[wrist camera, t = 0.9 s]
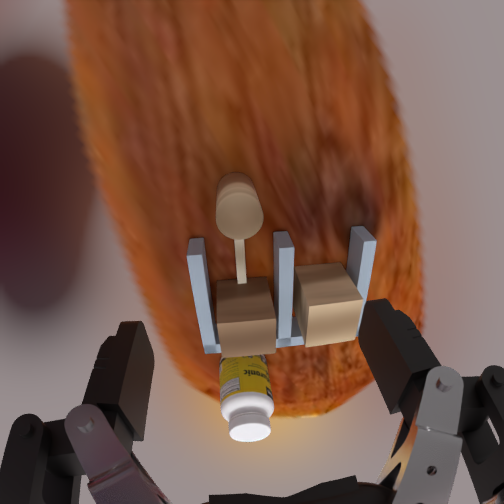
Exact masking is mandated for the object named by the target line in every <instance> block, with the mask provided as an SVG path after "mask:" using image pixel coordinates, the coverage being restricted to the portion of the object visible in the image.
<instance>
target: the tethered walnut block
mask: <svg viewBox="0 0 504 504" xmlns="http://www.w3.org/2000/svg"><path fill="white" fill-rule="evenodd" d="M262 223H263V211H262V208H261V205H260V202H259V199H258V196H257V193H256V190H255V187H254V185H253V182H252V180H251V179H250V178H249V177H248V176H247V175H245V174H243V173H240V172H232V173H229V174H227V175H225V176H224V177H223V178H222V179H221V180H220V181H219V183H218V186H217V200H216V224H217V226H218V229H219V230H220V231H221V232H222V233H223V234H224V235H225V236H227V237H229V238H231V239H234V243H235V256H236V268H237V279H231V280H219V281H217V328H218V335H219V341H220V347H221V353H222V358H228V357H241V356H252V355H262V354H272V353H276V315H275V311H274V307H273V303H272V298H271V294H270V290H269V285H268V281H267V277H255V278H246V265H245V249H244V239H247V238H250V237H252V236H253V235H255V234H256V233H257V232H258V231H259V229H260V228H261V226H262Z"/></svg>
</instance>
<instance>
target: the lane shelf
mask: <svg viewBox="0 0 504 504" xmlns="http://www.w3.org/2000/svg"><path fill="white" fill-rule="evenodd" d="M273 239H274V311H275V315H276V348H278V347H287V346H295V345H303V344H304V341H303V338H302V334H301V331H300V328H299V325H298V321H297V318H296V317H292V302H293V275H294V245H293V243H292V241H291V239H290V236H289V234H288V232H287V231H281V232H273ZM376 241H377V240H376V239H375V238H374V237H373V236H372V235H371V234H370V233H369V232H368V231H367V230H366V229H365V228H364V226H355V227H351V235H350V244H349V253H348V261H347V269H346V272H347V273H348V275H349V277H350V278H351V280H352V281H353V283H354V285H355V286H356V288H357V290H358V291H359V293H360V294H361V296H362V298H363V304H362V309H361V314H360V319H359V323H358V328H357V332H356V336H358V332H359V327H360V323H361V319H362V314H363V310H364V305H365V303H366V298H367V293H368V288H369V283H370V278H371V272H372V266H373V260H374V254H375V248H376ZM187 261H188V267H189V273H190V279H191V284H192V290H193V296H194V301H195V306H196V312H197V317H198V322H199V327H200V332H201V337H202V342H203V347H204V351H205V354H208V353H221V347H220V341H219V335H218V328H217V324H216V323H215V317H214V310H213V303H212V296H211V289H210V282H209V275H208V267H207V260H206V252H205V244H204V238H193V239H190V241H189V246H188V251H187ZM356 336H355V337H356Z"/></svg>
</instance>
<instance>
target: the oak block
mask: <svg viewBox="0 0 504 504" xmlns="http://www.w3.org/2000/svg"><path fill="white" fill-rule="evenodd" d="M362 304H363V298H362V296H361V294H360V293H359V291H358V290H357V288H356V286H355V285H354V283H353V281H352V280H351V278H350V277H349V275H348V273H347V272H346V270H345V269H344V267H343V265H342V264H341V262H338V263H327V264H317V265H306V266H295V267H294V281H293V308H294V312H295V315H296V318H297V321H298V325H299V328H300V331H301V334H302V338H303V341H304V344H305V347H311V346H318V345H325V344H332V343H338V342H344V341H350V340H355V336H356V332H357V328H358V323H359V319H360V314H361V309H362Z"/></svg>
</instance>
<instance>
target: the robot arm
mask: <svg viewBox="0 0 504 504" xmlns="http://www.w3.org/2000/svg"><path fill="white" fill-rule="evenodd" d="M358 339H359V345H360V348H361V350H362V352H363V354H364V356H365V358H366V360H367V363H368V365H369V367H370V369H371V371H372V374H373V376H374V378H375V380H376V382H377V384H378V387H379V389H380V391H381V394H382V396H383V398H384V401H385V403H386V405H387V408H388V410H389V412H390V414H394V413H397V412H400V411H401V413H402V415H403V418H402V420H401V423H400V426H399V429H398V432H397V435H396V438H395V440H394V443H393V446H392V449H391V451H390V454H389V457H388V459H387V462H386V464H385V466H384V467H383V469H382V471H381V473H380V475H379V476H378V478H377V480H376V482H375V484H374V483H367V482H357V479H356V476H355V475H354V476H350V477H346V478H342V479H338V480H333V481H329V482H324V483H320V484H318V485H316V486H313V487H311V488H309V489H306V490H304V491H301V492H299V493H296V494H294V495H291V496H288V497H282V498H281V497H271V496H262V495H254V494H247V493H244V494H226V495H209V502H206V503H202V504H448V501H449V497H450V494H451V490H452V487H453V483H454V479H455V475H456V471H457V466H458V463H459V457H460V453H462V455H463V458H464V460H465V463H466V466H467V468H468V471H469V474H470V476H471V479H472V482H473V484H474V488H475V490H476V493H477V496H478V499H479V502H480V504H504V368H502V367H500V366H495V365H493V366H489V367H487V368H485V370H484V371H483V373H482V374H481V376H475V377H461V376H460V374H459V373H458V372H457V371H455V370H454V369H452V368H450V367H446V366H441V364H440V363H439V361H438V360H437V358H436V357H435V355H434V353H433V352H432V350H431V349H430V347H429V346H428V344H427V343H426V341H425V340H424V338H423V337H422V336H421V333H420V332H419V330H418V329H416V326H415V325H414V323H413V322H412V320H411V319H410V317H408V316H407V315H406V314H404V313H403V312H402V311H400V310H394V308H393V307H392V305H391V304H390V302H389V301H388V300H387V299H385V298H384V299H378V300H371V301H367V302H366V303H365V305H364V310H363V314H362V319H361V323H360V327H359V332H358ZM153 370H154V354H153V350H152V347H151V344H150V341H149V339H148V335H147V333H146V330H145V327H144V324H143V323H142V321H125V322H121V323H120V325H119V328H118V331H117V334H116V336H109V337H108V338H107V339H106V340H105V342H104V343H103V344H102V345H101V347H100V349H99V352H98V355H97V360H96V361H95V364H94V369H93V370H92V373H91V376H90V379H89V382H88V385H87V389H86V392H85V395H84V399H83V402H82V404H81V405H79V406H77V407H75V408H73V409H72V410H71V411H70V412H69V413H68V415H67V416H66V418H65V419H61V420H55V421H50V422H44V423H43V422H42V421H41V419H40V418H39V417H38V416H36V415H34V414H24V415H22V416H20V417H18V418H17V419H16V420H15V421H14V423H13V425H12V427H11V430H10V434H9V437H8V441H7V444H6V448H5V452H4V456H3V460H2V464H1V468H0V504H79V494H80V484H81V475H87V477H88V479H89V483H88V484H87V485H88V489H89V491H90V493H91V495H92V497H93V499H94V500H95V502H96V504H172V502H171V501H170V500H169V499H168V498H167V497H166V496H165V495H164V493H163V492H162V491H161V490H160V489H159V487H158V486H157V485H156V483H154V481H153V479H152V478H151V477H150V476H149V474H148V473H147V471H146V470H145V469H144V467H143V466H142V465H141V463H140V462H139V460H138V459H137V458H136V456H135V454H134V453H133V451H132V445H133V441H143V440H144V431H145V424H146V415H147V409H148V402H149V396H150V389H151V383H152V376H153ZM489 418H490V420H491V422H492V424H493V426H494V428H495V430H496V432H497V434H498V436H499V440H500V444H499V445H498V442H497V440H496V438H495V436H494V434H493V432H492V429H491V427H490V425H489V423H488V421H487V420H488V419H489Z"/></svg>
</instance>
